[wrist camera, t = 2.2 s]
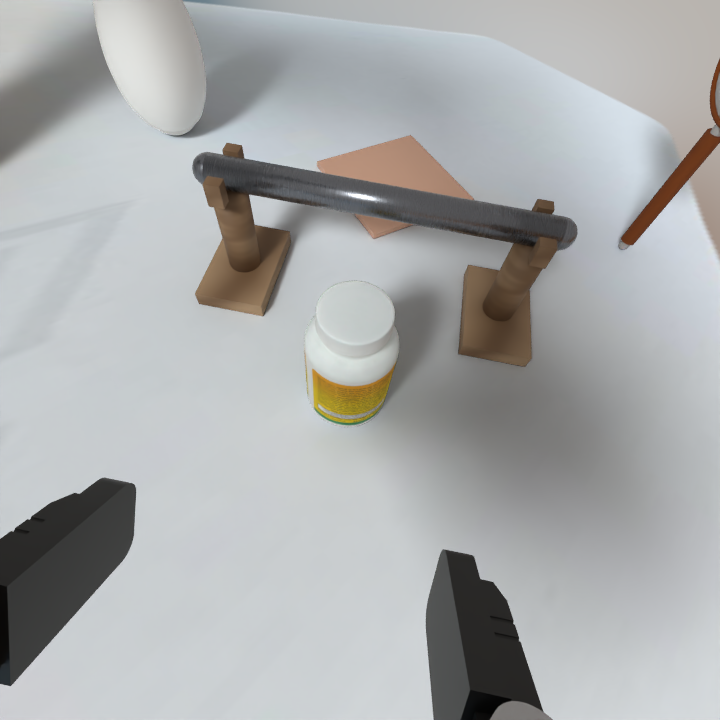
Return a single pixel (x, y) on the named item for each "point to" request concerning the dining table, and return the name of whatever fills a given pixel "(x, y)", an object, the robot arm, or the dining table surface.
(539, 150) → the dining table surface
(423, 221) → the bar
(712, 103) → the magnifying glass
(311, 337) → the supplement bottle
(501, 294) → the hurdle stand
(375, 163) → the tile
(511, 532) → the dining table surface
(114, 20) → the white air blower bulb
